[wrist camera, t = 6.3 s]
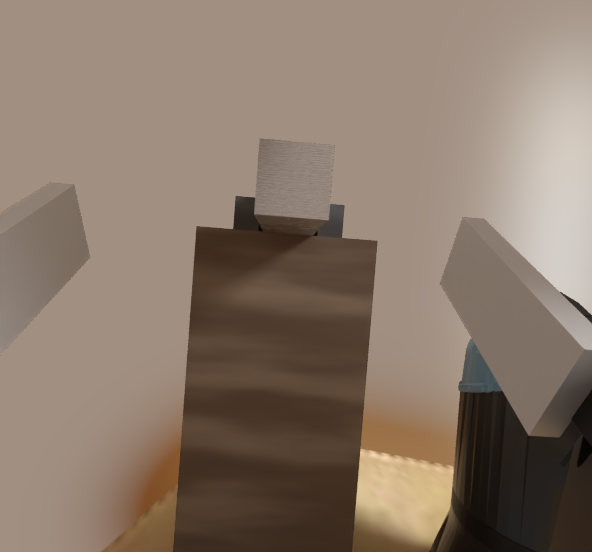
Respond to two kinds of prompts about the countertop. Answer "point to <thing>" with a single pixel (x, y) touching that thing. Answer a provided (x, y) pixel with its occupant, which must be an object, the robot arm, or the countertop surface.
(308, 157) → the steel bar
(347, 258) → the walnut stand
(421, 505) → the countertop surface
